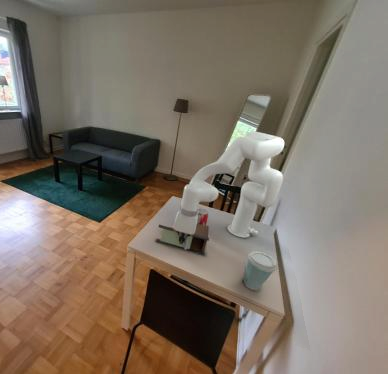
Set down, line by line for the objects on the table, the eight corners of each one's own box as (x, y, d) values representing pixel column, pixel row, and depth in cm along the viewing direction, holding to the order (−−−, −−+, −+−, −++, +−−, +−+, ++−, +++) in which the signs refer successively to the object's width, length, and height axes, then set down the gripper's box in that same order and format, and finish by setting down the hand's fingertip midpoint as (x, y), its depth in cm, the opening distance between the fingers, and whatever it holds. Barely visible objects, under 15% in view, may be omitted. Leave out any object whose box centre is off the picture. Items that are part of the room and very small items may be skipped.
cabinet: (205, 241, 116) (209, 226, 111) (204, 255, 106) (209, 239, 101) (160, 229, 122) (163, 214, 118) (155, 241, 112) (158, 226, 108)
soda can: (205, 233, 123) (209, 215, 118) (192, 230, 124) (197, 213, 119) (204, 226, 129) (208, 209, 124) (192, 224, 130) (196, 207, 125)
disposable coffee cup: (233, 277, 94) (243, 251, 88) (250, 271, 99) (260, 246, 92) (253, 298, 86) (266, 270, 79) (271, 290, 90) (284, 263, 84)
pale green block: (189, 248, 108) (192, 235, 105) (188, 253, 105) (192, 240, 101) (161, 240, 112) (163, 227, 109) (159, 244, 109) (161, 231, 105)
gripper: (205, 210, 98) (197, 242, 106) (173, 203, 102) (168, 234, 110) (204, 219, 92) (195, 251, 100) (170, 210, 96) (164, 242, 103)
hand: (181, 242), depth 105 cm, fingers closed
